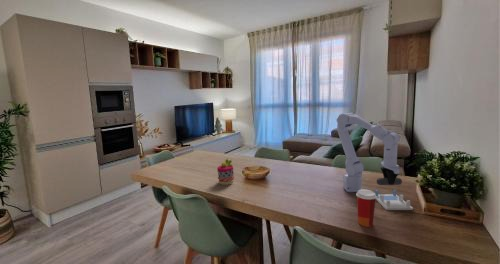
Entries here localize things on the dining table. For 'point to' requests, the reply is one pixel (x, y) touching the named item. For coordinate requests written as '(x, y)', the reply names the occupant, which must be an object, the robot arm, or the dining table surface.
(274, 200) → the dining table surface
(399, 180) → the dark grey capsule
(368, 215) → the paper cup
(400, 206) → the board
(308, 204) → the dining table surface
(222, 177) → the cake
